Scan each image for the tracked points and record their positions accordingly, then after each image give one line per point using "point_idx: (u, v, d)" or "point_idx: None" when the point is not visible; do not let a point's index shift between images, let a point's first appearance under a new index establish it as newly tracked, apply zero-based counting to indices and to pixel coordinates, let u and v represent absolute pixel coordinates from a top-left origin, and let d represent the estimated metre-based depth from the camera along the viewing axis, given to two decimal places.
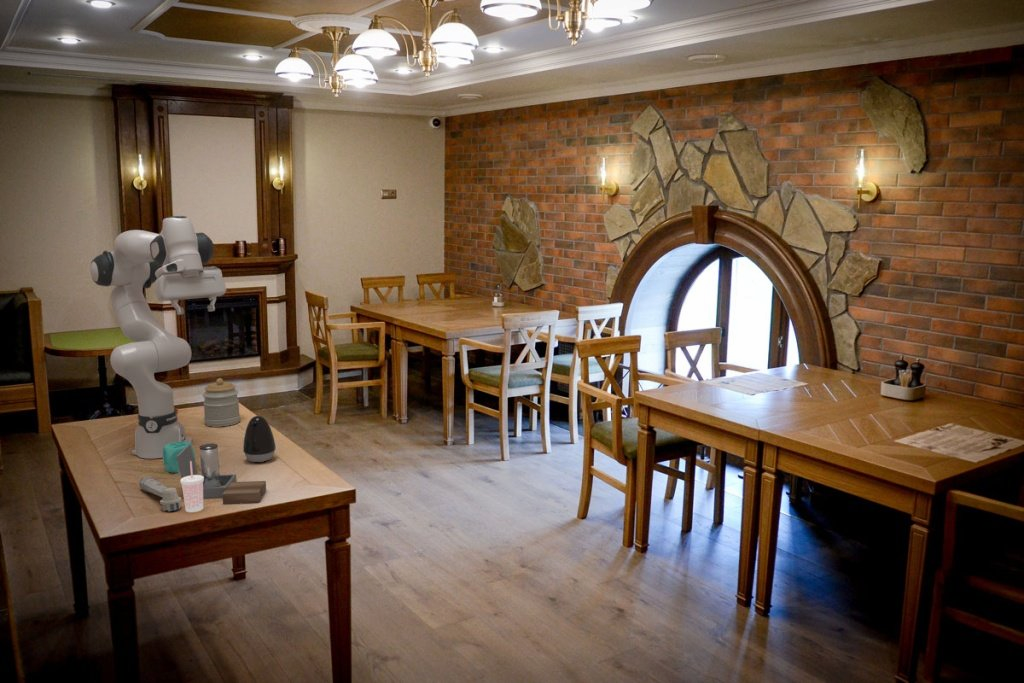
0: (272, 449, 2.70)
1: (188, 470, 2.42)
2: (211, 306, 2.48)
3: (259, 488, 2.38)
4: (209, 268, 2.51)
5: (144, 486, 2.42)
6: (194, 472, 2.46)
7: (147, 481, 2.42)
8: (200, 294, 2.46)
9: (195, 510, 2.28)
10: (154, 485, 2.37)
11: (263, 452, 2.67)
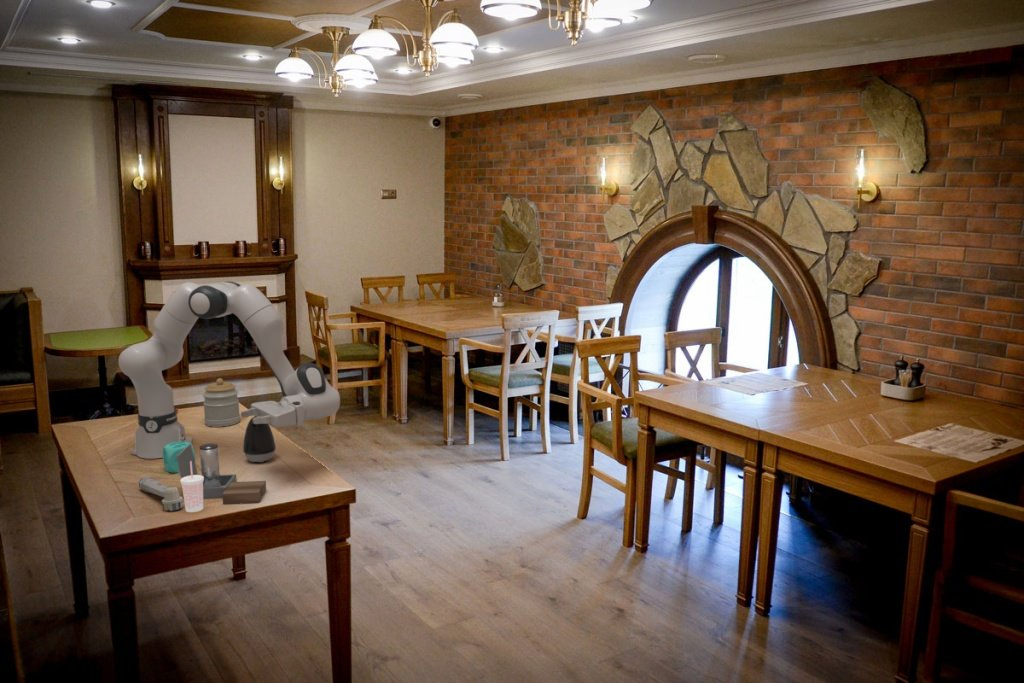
0: (272, 449, 2.70)
1: (188, 470, 2.42)
2: None
3: (259, 488, 2.38)
4: None
5: (144, 486, 2.42)
6: (194, 472, 2.46)
7: (147, 481, 2.42)
8: None
9: (195, 510, 2.28)
10: (154, 485, 2.37)
11: (263, 452, 2.67)
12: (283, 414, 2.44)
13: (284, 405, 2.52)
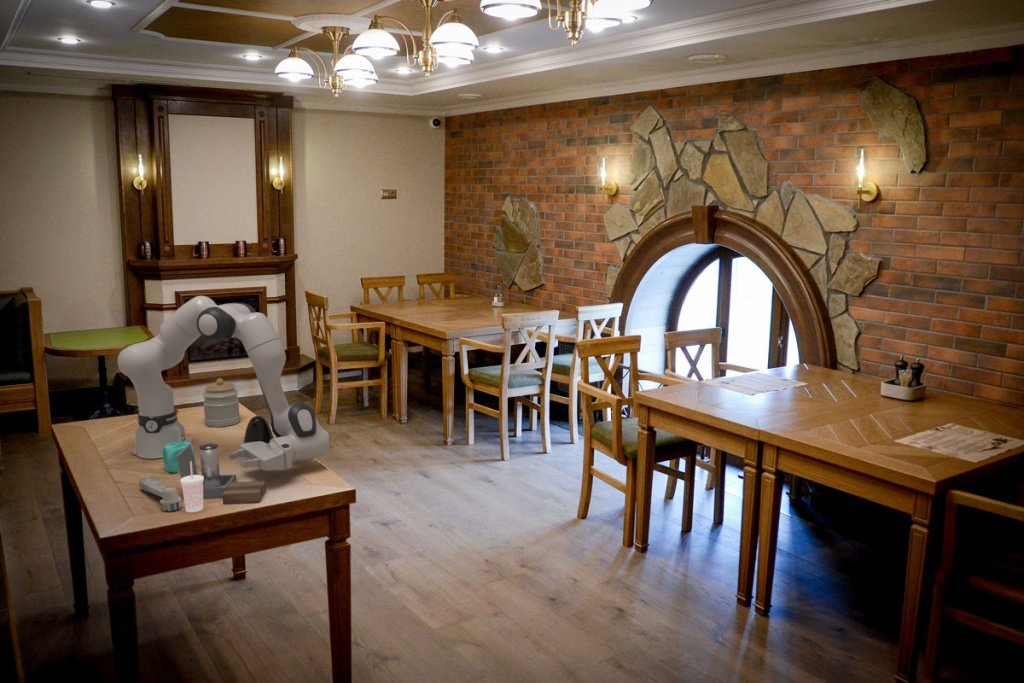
0: None
1: (188, 470, 2.42)
2: None
3: (259, 488, 2.38)
4: None
5: (144, 486, 2.42)
6: (194, 472, 2.46)
7: (147, 481, 2.42)
8: None
9: (195, 510, 2.28)
10: (154, 485, 2.37)
11: None
12: (272, 458, 2.44)
13: (273, 447, 2.52)
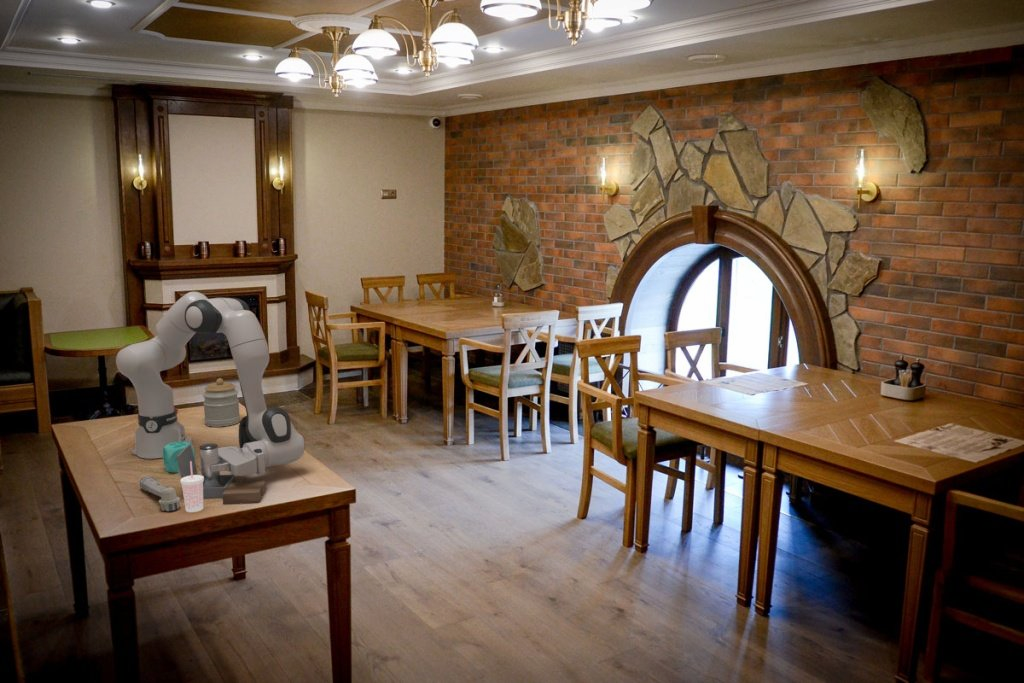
0: None
1: (188, 470, 2.42)
2: None
3: (259, 488, 2.38)
4: None
5: (144, 486, 2.42)
6: (194, 472, 2.46)
7: (147, 481, 2.42)
8: None
9: (195, 510, 2.28)
10: (153, 485, 2.37)
11: None
12: (243, 463, 2.39)
13: (245, 452, 2.47)
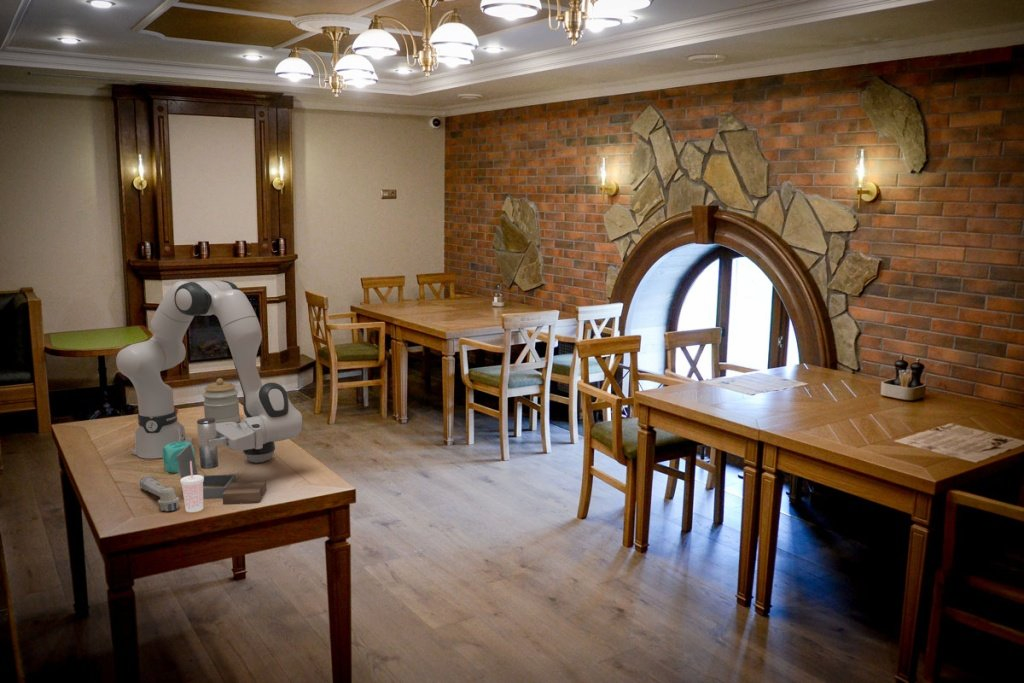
0: (271, 450, 2.69)
1: (188, 470, 2.42)
2: None
3: (259, 488, 2.38)
4: None
5: (144, 486, 2.42)
6: (194, 472, 2.46)
7: (147, 481, 2.42)
8: None
9: (195, 510, 2.28)
10: (153, 485, 2.37)
11: (261, 452, 2.67)
12: (241, 438, 2.37)
13: (243, 427, 2.46)
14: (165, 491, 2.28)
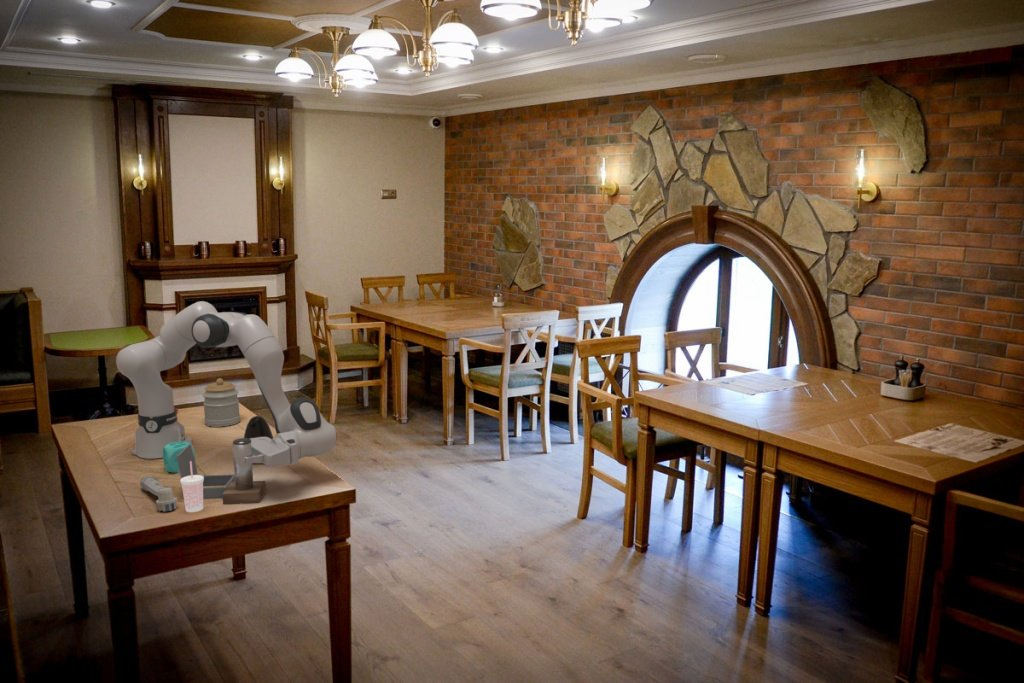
0: None
1: (188, 470, 2.42)
2: None
3: (259, 488, 2.38)
4: None
5: (144, 485, 2.43)
6: (194, 472, 2.46)
7: (147, 480, 2.42)
8: None
9: (195, 510, 2.28)
10: (152, 485, 2.37)
11: None
12: (277, 454, 2.33)
13: (278, 443, 2.41)
14: (163, 491, 2.28)
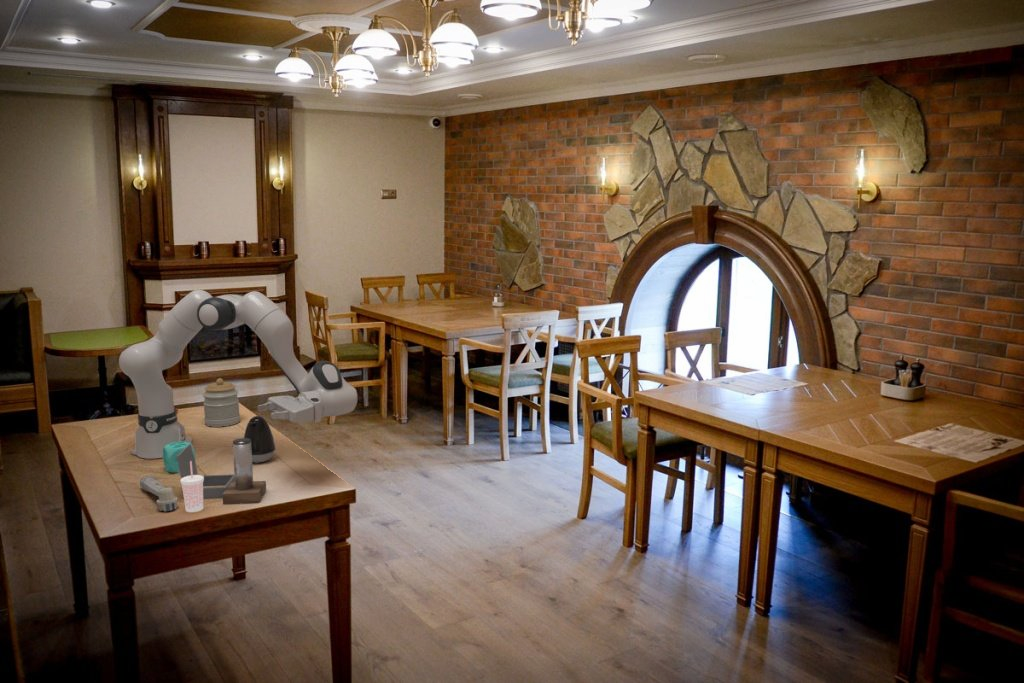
0: (271, 450, 2.69)
1: (188, 470, 2.42)
2: None
3: (259, 488, 2.38)
4: None
5: (144, 485, 2.43)
6: (194, 472, 2.46)
7: (147, 480, 2.43)
8: None
9: (195, 510, 2.28)
10: (152, 484, 2.38)
11: (261, 452, 2.67)
12: (301, 410, 2.41)
13: (302, 401, 2.49)
14: (163, 491, 2.28)
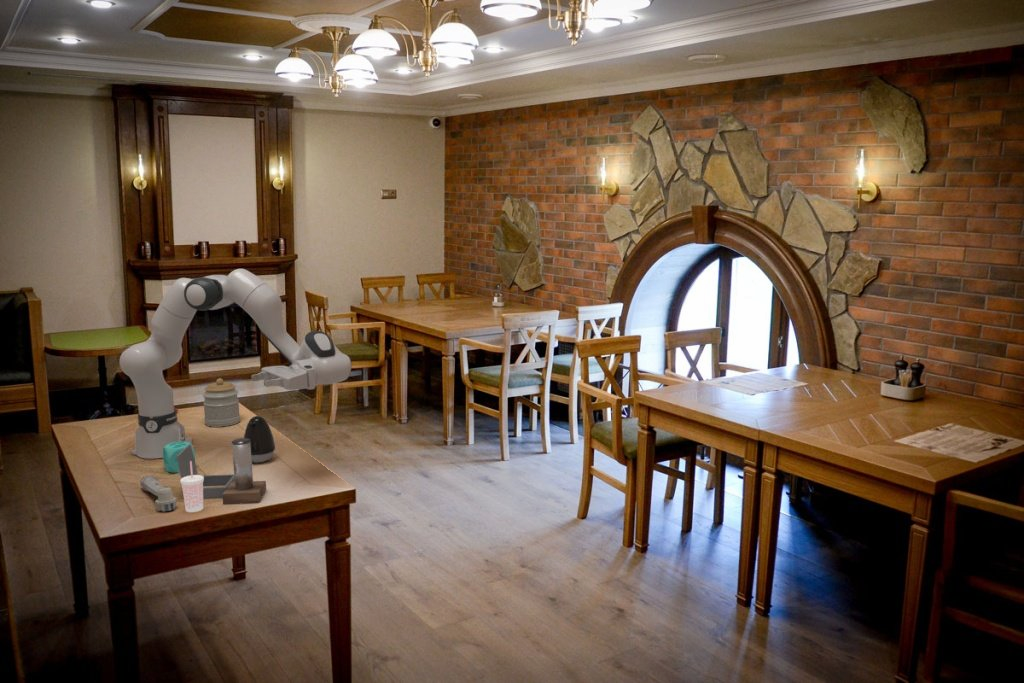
0: (271, 450, 2.69)
1: (188, 470, 2.42)
2: (256, 380, 2.49)
3: (259, 488, 2.38)
4: None
5: (144, 485, 2.43)
6: (194, 472, 2.46)
7: (147, 480, 2.43)
8: None
9: (195, 510, 2.28)
10: (152, 484, 2.38)
11: (261, 452, 2.67)
12: (295, 377, 2.42)
13: (295, 369, 2.50)
14: (162, 491, 2.28)
